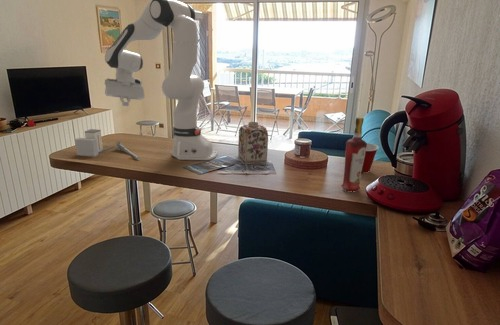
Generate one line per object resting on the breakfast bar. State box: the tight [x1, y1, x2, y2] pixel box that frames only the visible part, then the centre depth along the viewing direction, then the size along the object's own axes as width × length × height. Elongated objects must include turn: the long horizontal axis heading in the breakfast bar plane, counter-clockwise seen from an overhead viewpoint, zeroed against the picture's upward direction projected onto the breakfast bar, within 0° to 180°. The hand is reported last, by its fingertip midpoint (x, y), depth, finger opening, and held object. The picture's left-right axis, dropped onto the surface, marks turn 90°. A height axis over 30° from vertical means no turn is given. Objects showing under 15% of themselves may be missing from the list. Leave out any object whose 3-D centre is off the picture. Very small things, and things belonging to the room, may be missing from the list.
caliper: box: [115, 140, 141, 161], centre depth 160 cm, size 20×1×6 cm, turn 49°
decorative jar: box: [237, 121, 269, 163], centre depth 159 cm, size 12×12×18 cm
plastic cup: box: [362, 142, 380, 173], centre depth 146 cm, size 11×11×12 cm
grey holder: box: [74, 137, 115, 158], centre depth 161 cm, size 14×18×9 cm
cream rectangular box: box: [84, 128, 104, 152], centre depth 159 cm, size 5×5×11 cm
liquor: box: [341, 116, 368, 193], centre depth 122 cm, size 7×7×28 cm
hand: (125, 105), depth 177 cm, fingers closed
